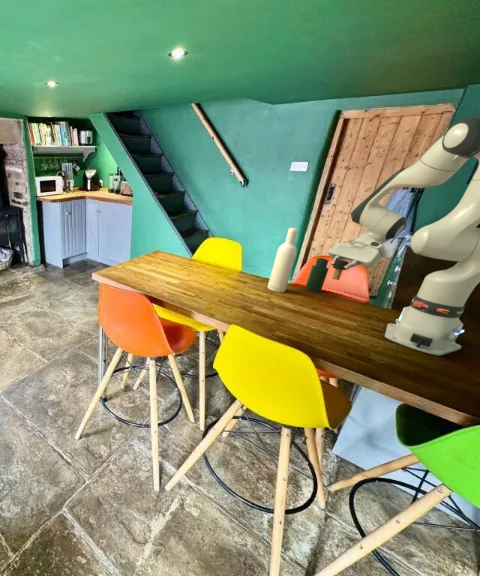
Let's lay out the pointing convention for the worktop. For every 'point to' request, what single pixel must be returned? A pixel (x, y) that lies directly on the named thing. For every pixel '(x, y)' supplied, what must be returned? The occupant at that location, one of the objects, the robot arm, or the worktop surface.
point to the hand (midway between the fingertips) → (338, 266)
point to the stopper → (339, 268)
